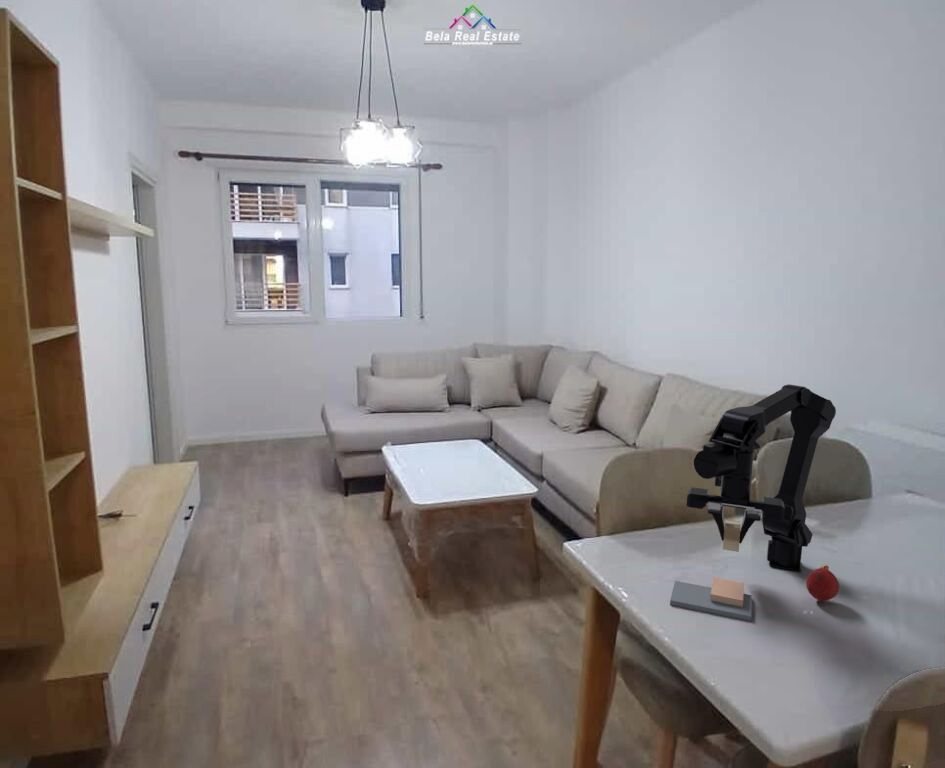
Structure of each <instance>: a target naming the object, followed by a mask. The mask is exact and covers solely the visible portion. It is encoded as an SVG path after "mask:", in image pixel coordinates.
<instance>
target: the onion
mask: <svg viewBox="0 0 945 768" xmlns="http://www.w3.org/2000/svg"><path fill="white" fill-rule="evenodd" d="M805 586H806V589H807V591H808V593H809V594H810V595H811V596H812V597H813V599H816V600H817V601H818V602H819V603H824V602H827V601H829V600H832V599H834V598H836V596H837V595H838V593H839V589H840V582H839V580H838V578H837V577H836V575H835V574H834V573H833V572H832V571H830V570H829V566H828V565H827V564H822V565H821V566H820V567H819V568H816V569H814V570H812V571H810V573H809V574H808V575H807V577H806V580H805Z"/></svg>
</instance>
